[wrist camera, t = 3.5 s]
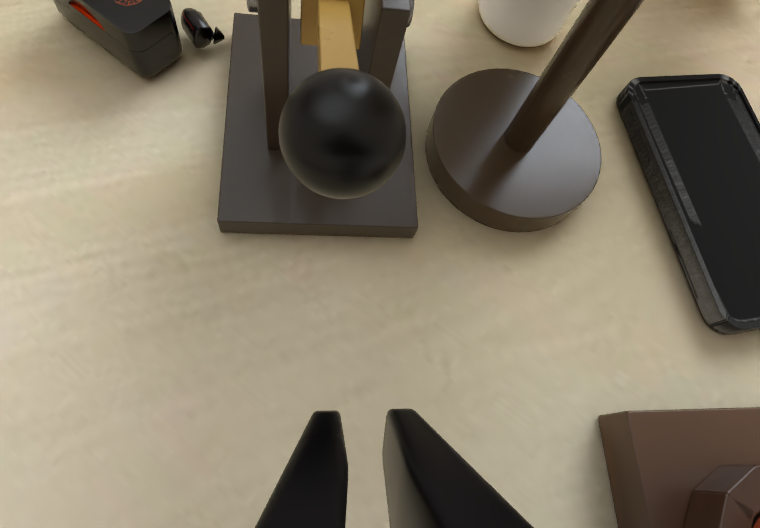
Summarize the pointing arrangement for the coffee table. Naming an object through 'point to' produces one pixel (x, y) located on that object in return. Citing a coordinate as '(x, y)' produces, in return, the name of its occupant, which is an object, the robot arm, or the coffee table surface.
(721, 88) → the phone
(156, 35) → the wireless earbuds
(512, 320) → the coffee table surface
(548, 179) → the lamp
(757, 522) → the button
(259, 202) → the lamp switch
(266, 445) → the coffee table surface
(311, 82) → the lever
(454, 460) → the robot arm
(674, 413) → the switch box
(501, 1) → the drinking glass
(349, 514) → the coffee table surface
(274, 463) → the coffee table surface
